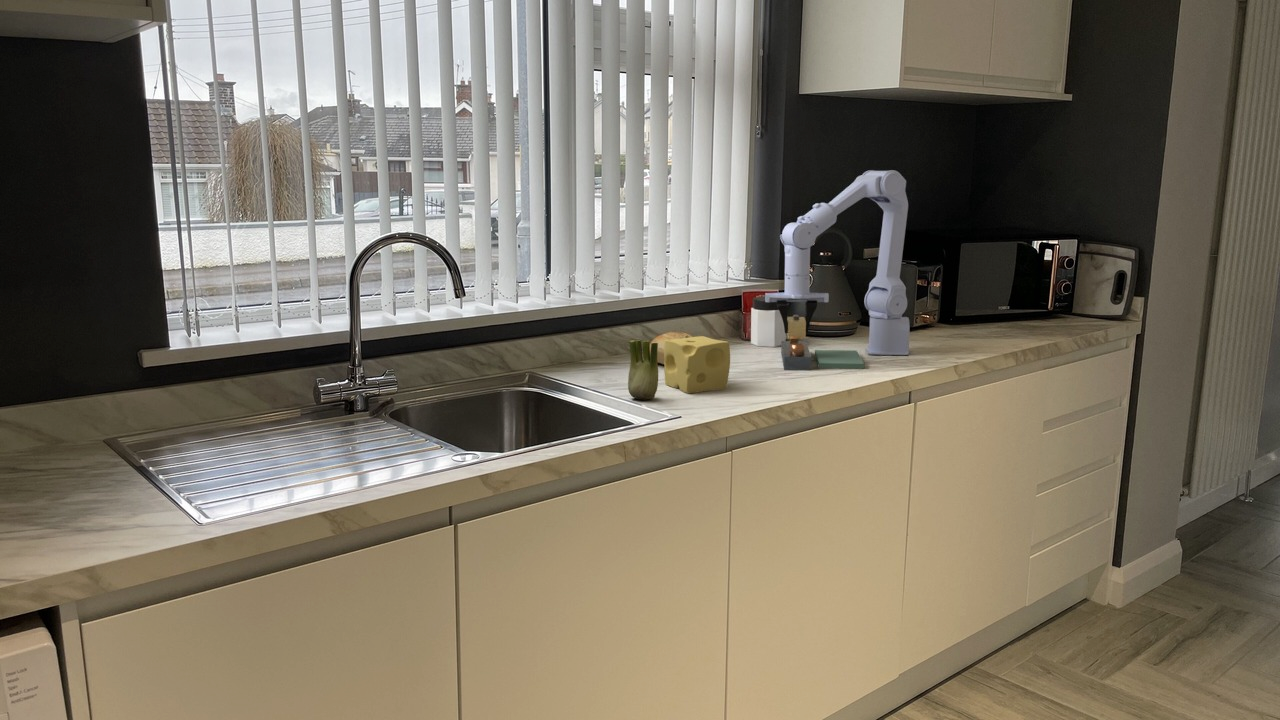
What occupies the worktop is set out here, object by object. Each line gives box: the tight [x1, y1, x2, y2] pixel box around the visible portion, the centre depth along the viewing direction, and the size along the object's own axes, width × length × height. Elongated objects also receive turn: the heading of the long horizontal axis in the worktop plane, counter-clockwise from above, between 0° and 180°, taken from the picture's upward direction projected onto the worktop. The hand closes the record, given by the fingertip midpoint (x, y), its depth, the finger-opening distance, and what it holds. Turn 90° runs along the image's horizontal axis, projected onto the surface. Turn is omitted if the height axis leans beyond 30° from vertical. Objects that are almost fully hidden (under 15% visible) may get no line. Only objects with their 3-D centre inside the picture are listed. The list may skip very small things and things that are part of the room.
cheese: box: [663, 335, 731, 395], centre depth 204 cm, size 10×11×10 cm
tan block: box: [786, 314, 807, 340], centre depth 229 cm, size 7×4×5 cm, turn 174°
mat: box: [814, 349, 865, 370], centre depth 229 cm, size 10×16×1 cm, turn 174°
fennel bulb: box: [627, 339, 659, 401], centre depth 194 cm, size 6×5×12 cm
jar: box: [750, 295, 787, 348], centre depth 251 cm, size 9×8×12 cm
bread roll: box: [650, 331, 693, 365], centre depth 226 cm, size 10×15×8 cm, turn 41°
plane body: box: [780, 339, 812, 371], centre depth 230 cm, size 20×6×6 cm, turn 174°
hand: (796, 332), depth 229 cm, fingers closed on tan block, 4 cm apart
